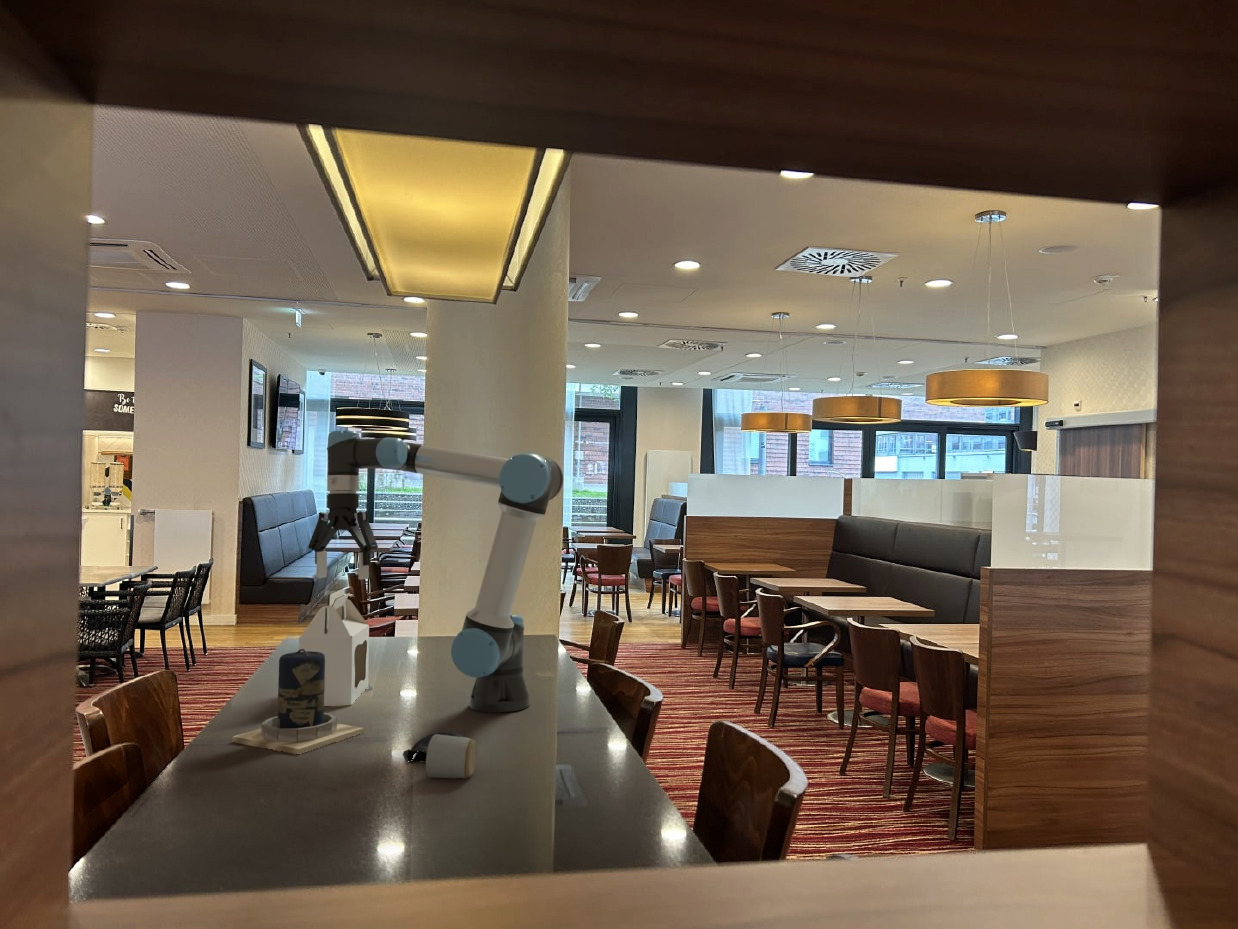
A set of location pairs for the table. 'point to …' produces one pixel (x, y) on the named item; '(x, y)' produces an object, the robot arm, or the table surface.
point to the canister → (301, 689)
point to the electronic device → (423, 745)
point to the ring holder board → (297, 745)
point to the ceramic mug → (450, 757)
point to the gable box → (340, 648)
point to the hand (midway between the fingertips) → (342, 578)
